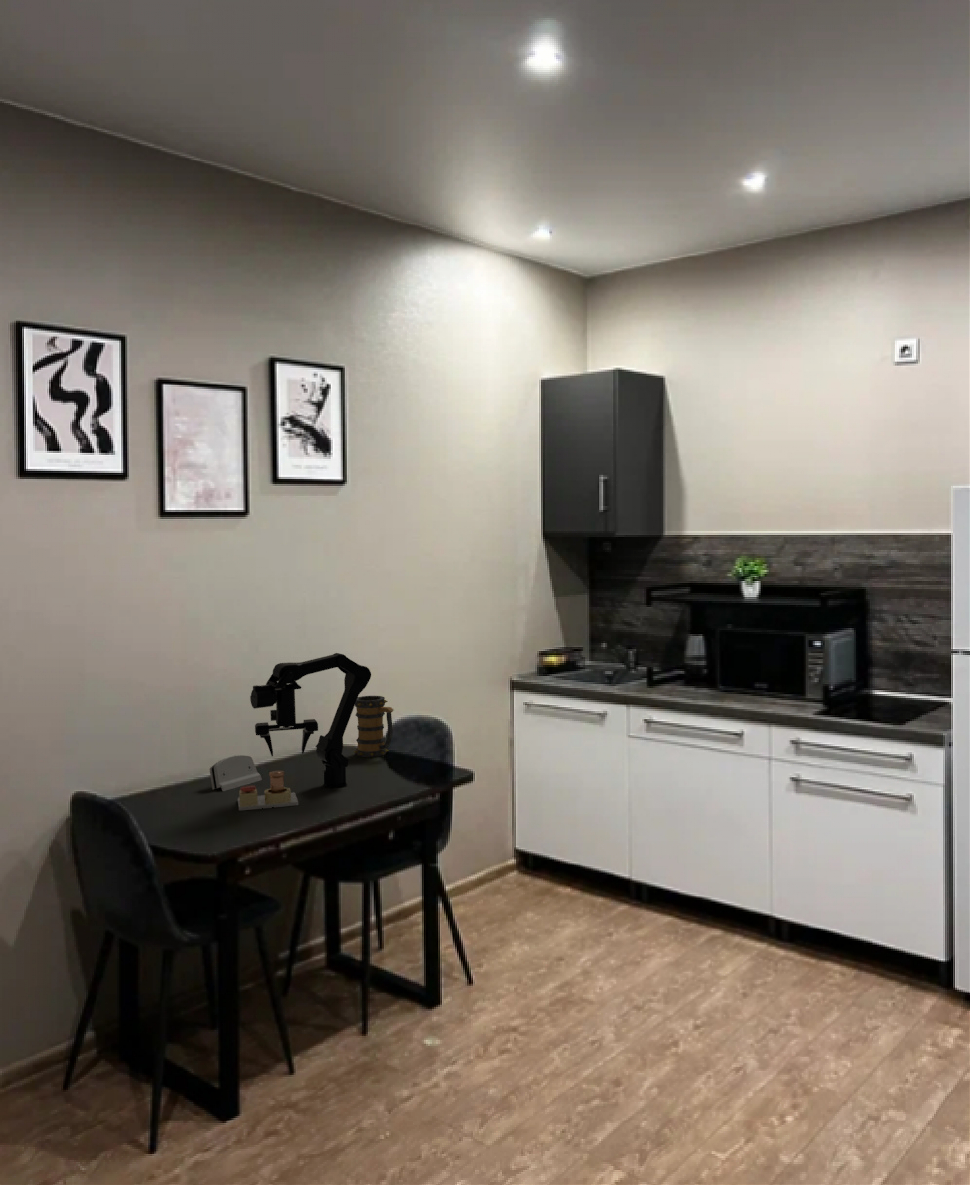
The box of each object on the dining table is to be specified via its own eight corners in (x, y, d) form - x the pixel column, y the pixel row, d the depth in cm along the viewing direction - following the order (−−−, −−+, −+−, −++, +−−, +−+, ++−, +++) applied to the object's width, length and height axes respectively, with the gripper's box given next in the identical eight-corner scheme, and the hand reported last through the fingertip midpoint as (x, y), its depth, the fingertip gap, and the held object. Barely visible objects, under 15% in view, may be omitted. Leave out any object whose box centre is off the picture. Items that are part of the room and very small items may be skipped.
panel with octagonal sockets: (294, 795, 315) (294, 778, 315) (298, 805, 304) (297, 787, 304) (237, 800, 310) (237, 783, 310) (239, 810, 300) (238, 792, 300)
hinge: (222, 791, 321) (214, 760, 323) (213, 794, 324) (204, 763, 325) (262, 779, 335) (254, 749, 336) (253, 782, 338) (245, 753, 339)
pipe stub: (284, 795, 311) (283, 769, 310) (286, 799, 307) (285, 773, 306) (269, 797, 310) (268, 771, 309) (270, 801, 305) (269, 774, 305)
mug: (370, 747, 378) (368, 693, 376) (406, 753, 367) (404, 698, 366) (345, 755, 367) (343, 699, 366) (381, 761, 357) (380, 703, 356)
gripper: (313, 698, 326) (315, 746, 327) (253, 702, 321) (255, 751, 322) (317, 704, 315) (319, 754, 317) (255, 708, 310) (257, 759, 312)
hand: (287, 754), depth 317 cm, fingers open, 9 cm apart
